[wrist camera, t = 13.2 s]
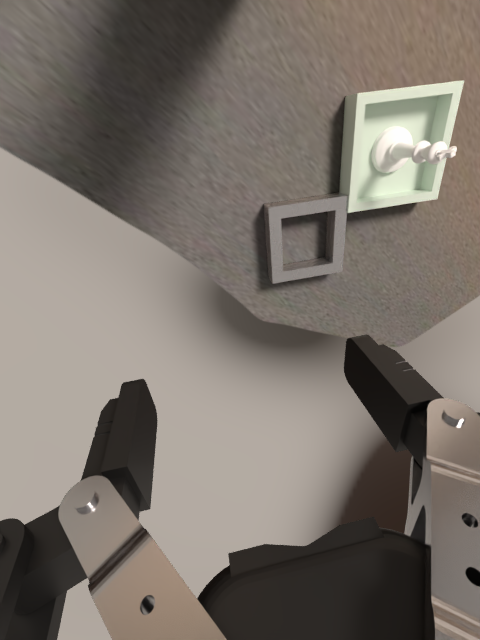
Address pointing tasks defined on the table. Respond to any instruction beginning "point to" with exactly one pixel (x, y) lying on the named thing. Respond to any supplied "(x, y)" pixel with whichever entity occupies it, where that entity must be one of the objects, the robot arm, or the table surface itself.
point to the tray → (380, 114)
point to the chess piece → (405, 150)
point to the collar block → (334, 236)
